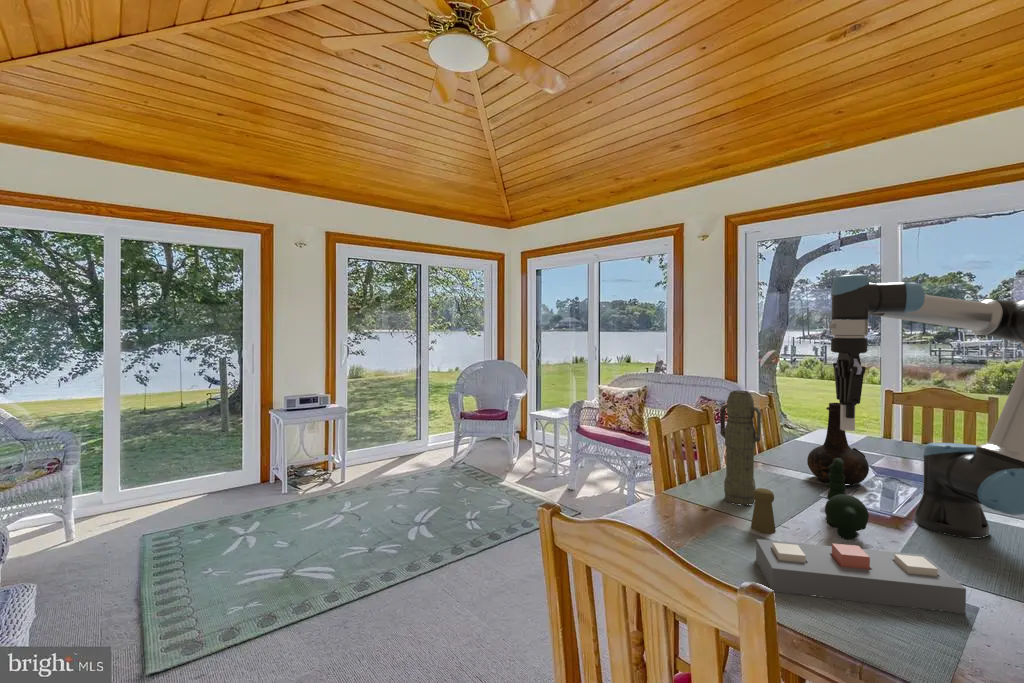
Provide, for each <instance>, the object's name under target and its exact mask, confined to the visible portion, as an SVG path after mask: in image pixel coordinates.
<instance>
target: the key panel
mask: <svg viewBox="0 0 1024 683" xmlns="http://www.w3.org/2000/svg"><path fill="white" fill-rule="evenodd" d="M755 543H756V546H755V548H756V549H755V560H756V563H757V564H758V563H759V564H758V566H759V568H760V570H761V572H762V574H763V576H764V578H765V580H766V581H767V584H768V586H769V588H770V590H771V589H772V590H774V591H773V592H774V593H775V592H776V593H784V594H791V593H793V595H799V594H804V595H803V596H808V595H816V596H823V597H822V598H825V597H831V598H830V599H833V598H838V599H837V600H842V599H845V600H844V601H850V600H853V602H859V601H860V603H867V602H868V603H870V604H878V605H887V606H894V607H902V608H910V607H914V608H913V609H918V608H924V609H923V610H927V609H934V610H933V611H935V610H942V611H941V612H944V611H950V612H949V613H952V612H957V613H956V614H961V613H962V614H961V615H966V606H967V604H966V603H967V588H966V587H965V586H963V585H962V584H961V583H960V582H958V581H957V580H956V579H955V578H953V577H952V576H951V575H950V574H948V573H947V572H946V571H945V570H944V569H942V568H941V567H940V566H939V565H937V564H936V563H935V562H934V561H933V560H931V559H930V558H928V557H927V556H926V555H925V554H919V553H908V552H899V551H888V550H887V551H886V550H877V549H876V550H875V549H868V548H867V549H866V548H861V549H862V550H863V551H864V552H865V553H866V554H867V555H868V556H869V557H870V570H869V569H859V568H849V567H840V566H839V565H838V564H837V562H836V561H835V560H834V559H833V558H832V545H821V544H814V543H813V544H810V543H801V542H793V541H792V542H789V541H782V540H781V541H780V540H779V541H778V540H772V539H771V540H769V539H759V538H756V540H755ZM772 543H782V544H793V545H798V546H799V547H800V549H801V550H802V551H803V553H804V554H805V556H806V563H800V562H791V561H781V560H777V558H776V557H775V555H774V553H773V552H772ZM895 554H898V555H909V556H919V557H924V558H925V559H926V560H927V561H929V562H930V563H931V564H932V565H933V566H935V567H936V568H937V569H938V575H937V576H927V575H917V574H908V573H905V572H904V571H903V570H902V569H901V568H900V567H899V566H898V565H897V564H896V563H895V562H894V556H895ZM772 590H771V591H772ZM794 593H795V594H794ZM816 596H815V597H816Z"/></svg>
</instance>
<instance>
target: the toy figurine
mask: <svg viewBox="0 0 1024 683" xmlns="http://www.w3.org/2000/svg"><path fill="white" fill-rule="evenodd" d="M843 464H844V462H843V460H842V459H841V458H835V459H834V460H833V464H831V465H829V466H828V467H829V469H830V471H831V472H830V473H828V474H827V477H828V478H829V479H830V482H829V483H826V488H827V489H828V490H829V491H828V492H827V496H826V498H827V501H826V503H825V506H824V512H825V520H826V521H825V522H826V524H827V526H829V527H830V528H836V529H837V530H836V533H837V535H838V537H840V539H841V538H842V539H845V540H851V541H852V540H855V539H857V537H858V533H857V532H859V531H862V530H863V531H864V530H865V529H866V528H867V524H868V523H869V518H870V514H869V511H868V508H867V507H866V505H865V504H864V503H863V501H861V500H860V499H859V498H857V497H855V496H853V495H851V494H847V493H846V490H847V488H846V487H847V486H845V484H844V483H843V482H844V481H845V476H844V474H843V472H844V468H843Z"/></svg>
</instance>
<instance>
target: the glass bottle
mask: <svg viewBox="0 0 1024 683" xmlns="http://www.w3.org/2000/svg"><path fill="white" fill-rule="evenodd" d="M825 409H826V410H828V418H827V430H826V436H825V440H824V443H823V444H822V445H819V446H817V447H814V448H813V449H812V450H811V451H809V453H808V455H807V465H808V468H809V470H810V471H811V474H813V475H814V476H815V477H816V478H817V479H819V480H820V481H822V482H823V483H826V484H828V483H829V482H830V479H829V478H828V477H827V474H828V473H830V472H831V471H830V469H829V467H828V466H829V465H831V464H833V460H834V459H835V458H841V459H842V460H843V462H844V464H843V468H844V472H843V474H844V476H845V481H844V482H843V483H844V484H850V485H851V486H855V485H858V484H861V482H863V481H864V480H865V479H866V478H867V476H868V475H869V472H870V465H869V462H868V460H867V458H866V455H865V454H864V453H863V452H862V451H860V450H859V449H857V448H855V447H852V448H851V447H850V445H849V442H848V440H847V439H848V438H847V434H846V431H844V430H841V429H840V409H841V404H840V402H829V403H828V406H827V407H826V408H825Z"/></svg>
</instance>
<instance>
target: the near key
mask: <svg viewBox="0 0 1024 683" xmlns="http://www.w3.org/2000/svg"><path fill="white" fill-rule="evenodd" d="M894 562H895V563H896V564H897V565H898V566H899V567H900V568H901V569H902V570H903V571H904V572H905V573H908V574H917V575H927V576H937V575H938V569H937V568H936V567H935V566H933V565H932V564H931V563H930V562H929V561H927V560H926V559H925V558H924V557H919V556H909V555H898V554H895V556H894Z"/></svg>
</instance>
